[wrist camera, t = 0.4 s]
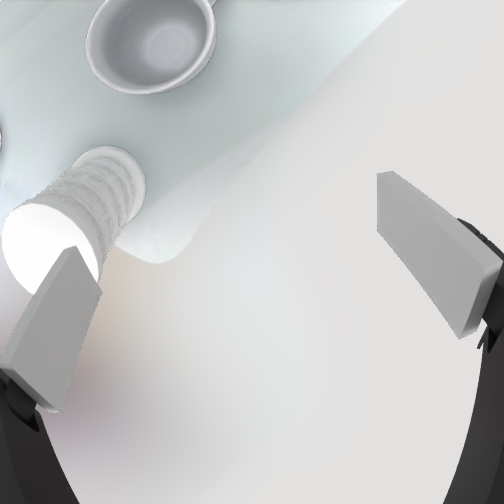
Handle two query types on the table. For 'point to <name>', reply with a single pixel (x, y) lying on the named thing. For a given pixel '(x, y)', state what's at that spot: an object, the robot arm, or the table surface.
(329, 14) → the table surface
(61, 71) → the table surface
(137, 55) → the mug
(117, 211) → the decorative container
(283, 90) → the table surface
